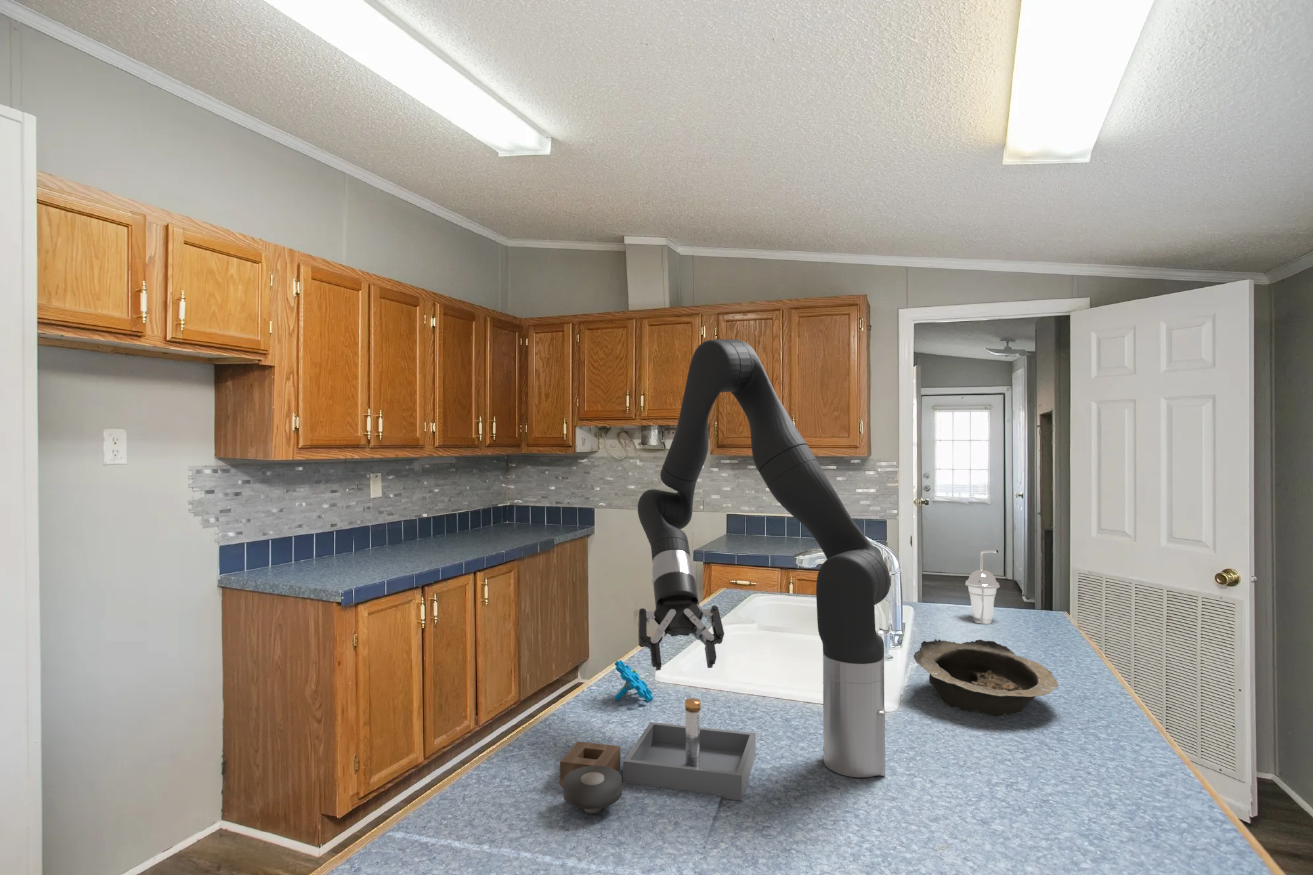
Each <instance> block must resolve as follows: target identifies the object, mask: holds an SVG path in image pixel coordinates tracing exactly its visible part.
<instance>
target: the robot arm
mask: <svg viewBox="0 0 1313 875" xmlns="http://www.w3.org/2000/svg"><path fill="white" fill-rule="evenodd" d="M692 354H693V355H692V358H691V361H690V363H689V364H690V365H689V368H688V373H687V377H686V382H685V387H684V393H683V397H682V401H681V406H680V411H679V417H678V421H677V424H676V429H675V433H674V436H673V438H672V442H671V443H670V447H669V449H668V450H667V451H668V452H667V454H666V456H665V459H664V462H663V465H662V466H661V470H660V473H659V474H660V475H659V477H660V480H661V482H662V483H663V484H664V485H665V486H666V487H667V488H670V489H672V490H674V491H676V492H673V491H668V490H667V491H666V490H661V489H654V488H653V489H652V488H651V489H647V490H646V491H644V492H643V493H642V494H641V496H640V497H639V499H638V503H637V514H638V518H639V519H638V520H639V522H640V524H641V526H642V529H643V532H644V533H645V535H646V538H647V540H648V543H649V545H650V551H651V552H650V553H651V561H652V570H651V574H652V575H651V576H652V585H653V595H654V604H655V609H654V611H650V610H649V611H647V610H646V608H643V607H642V608H640V609H639V610H638V618H637V620H638V622H637V623H638V646H639V647H640V648H648V649H649V652H650V653H649V654H650V664H651V666H652V667H653V668H655V670H656V671H661V669H662V656H661V648H660V647H661V646H660V644H662V642H663V641H664V639H665V638H666V637H667V635H669V636H670V637H677V636H684V637H687V636H690V635H692V636H693V637H694V638H695V639H696V640H697V641H700V642H701V643H702V644H703V645H704V652H705V658H706V660H705V661H706V666H707V668H708V669H712V668H713V667H714V665H715V664H716V660H717V652H716V645H717V644H718V645H720V644H722V643H723V640H724V638H725V637H724V636H725V631H724V627H723V622H722V617H721V614H720V611H719V607H718V606H717V605H712V606H711V607H710V608H705V609H703V608H702V607H701V606H700V602H699V595H698V590H697V583H696V576H695V570H694V566H693V561H692V558H691V552H690V551H691V550H690V545H689V544H690V543H689V540H688V536H687V534H686V532H684V531H683V530H682V529H684V528H686V527H687V526H688V525H689V523H690V522H691V521H692V517H693V511H694V510H693V506H694V496H695V491H696V490H695V489H696V485H697V481H698V479H699V476H700V474H701V472H702V469H703V466H704V464H705V462H706V460H707V455H708V451H709V433H708V432H709V431H708V422H709V416H710V414H711V410H712V408H713V405H714V404H715V402H716V400H717V399H718V398H719V395H720V393H729V392H730V393H731V394H732V395H733V397H734V398H735V399H736V401H737V403H738V404H739V405H740V407H741V409H742V411H743V412H744V414H745V416H746V419H747V421H748V424H749V425H748V426H749V430H750V441H751V442H750V444H751V453H752V458H753V463H754V465H755V467H756V469H757V471H758V472H759V475H760V476H761V478H762V480H763V482H764V484H765V485H766V487H767V488H768V490H769V492H770V494H771V495H772V496H773V497H774V498H775V500H776V501H777V502H778V503H779V504H780V506H782V507H783V508H784V509H785V510H786V511H787V512H788V513H789V514H790V515H791V516H792V517H794V519H796V521H798V522H799V523H800V524H801V525H802V526H803V527H805V529H807V531H808V532H809V534H811V535H812V537H813V538H814V539H815V540H816V542H817V544H818V545H819V547H820V549H821V551H822V552H823V554H824V556H825V558H826V560H825V561H823V563H822V564H821V565H820V567H819V569H818V572H817V575H816V582H815V586H816V587H815V588H816V589H815V596H816V597H815V598H816V614H817V615H816V620H817V632H818V635H819V638H820V640H821V643H822V714H823V715H822V719H823V720H822V722H823V723H822V724H823V725H822V726H823V730H822V734H823V735H822V736H823V737H822V738H823V744H822V751H823V764H824V765H825V767H827V769H829V770H831V771H832V772H834V773H836V774H839V775H842V776H845V777H852V778H871V777H875V776H882V777H885V776H886V710H885V642H884V639H883V638H882V636H881V635H880V634H877V633H878V632H877V630H876V614H875V612H876V610H875V608H876V607H875V606H876V605H877V604H880V603H881V602H882V601H883V600H884V599H885V598H886V597H887V596H888V594H889V592H890V589H891V574H890V571H889V567H888V566H887V564H886V562H885V561H884V559H883V557H882V556H881V555H880V554H879V552H878V551H877V550H876V549H875V547H874V546H873V544H872V543H871V542H870V540H869V539H868V538H867V537H866V535H865V534H864V533H863V531H862V530H861V529H860V527H859V526H858V525H857V523H856V522H855V520H854V519H853V518H852V516H851V514H850V513H849V512H848V510H847V509H846V507H845V505H844V504H843V503H844V502H842V500H841V499H840V496H839V495H838V493H837V491H836V490H835V488H834V487H833V485H832V484H831V482H830V481H829V479H828V477H827V475H826V473H825V472H824V470H823V468H822V467H821V465H820V463H819V461H818V460H817V458H816V457H815V456H816V455H814V453H813V451H812V450H811V448H810V447H809V445H808V443H807V442H806V441H805V439H804V438H803V436H802V435H801V433H800V431H799V430H798V429H797V426H796V425H795V424H794V421H793V420H792V417H790V415H789V413H788V411H787V410H786V408H785V407H784V405H783V402H781V400H780V398H779V396H778V395H777V392H776V391H775V388H774V387H773V384H772V382H771V380H770V379H769V375H768V374H767V372H766V370H765V367H764V365H763V364H762V361H761V360H760V357H759V356H758V354H757V352H756V351H755V349H754V348H753V347H752V346H751V345H750V343H747V341H744V340H740V339H734V338H733V339H732V338H731V339H729V338H727V339H719V338H718V339H708V340H706V341H703V342H702V343H700V344H699V345H698V346H697V347H696V348H695V350H694V352H693V353H692ZM703 618H705V619H706V620H707V622H708V623H710V624H711V628H712V632H713V633H712V632H710V631H709V629H707V626H706V625H705V623H703V621H702V619H703ZM652 620H654V621H655V622H656V624H657V625H658V627H657V628H656V631H655V632H654V633H653V635H652V636H649V635H647V634H648V632H647V631H648V630H647V629H648V628H647V627H648V626H649V625H650V624H651V621H652Z"/></svg>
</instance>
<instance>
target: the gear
mask: <svg viewBox="0 0 1313 875" xmlns="http://www.w3.org/2000/svg"><path fill="white" fill-rule="evenodd" d="M614 665H615V671H616V672H618V673H620V675H619V676H620V678H621V679H622V680H623V681H625V682H624V685H623V686H622V687H621V689H619V690H620V691H619V692H618V693H617V694H616V695H615V696H614V699H615V700H616V701H617V702H618V701H620V699H621V698H623V697H624V696H625V695H626V694H627V692H629V691H633V690H634V689H635V690H636V691H637V692H636V694H637V695H638V696H639V697H640V698H641V699H642V698H643V699H644V701H646V702H647V703H649V702H651V701H652V700H653V699H655V698H654V695H653V692H652V690H651V689H650V688H648V684H647V682H645V680H643V679H642V678H641V676H640V674H639V673H638V671H637V670H636V669H634V670H632V667H631V666H630V665H628V664H625V662H624V661H622V660H621V659H620V660H616V661H615V662H614Z"/></svg>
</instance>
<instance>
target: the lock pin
mask: <svg viewBox="0 0 1313 875" xmlns="http://www.w3.org/2000/svg"><path fill="white" fill-rule="evenodd" d="M701 703H702V702H701V700H700V699H699V698H695V697H694V698H693V697H690V698H686V699H685V701H684V709H685V710H684V711H685V726H686V756H685V766H689V767H697V768H699V767H700V727H701V710H702V708H701V706H702V704H701Z"/></svg>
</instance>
